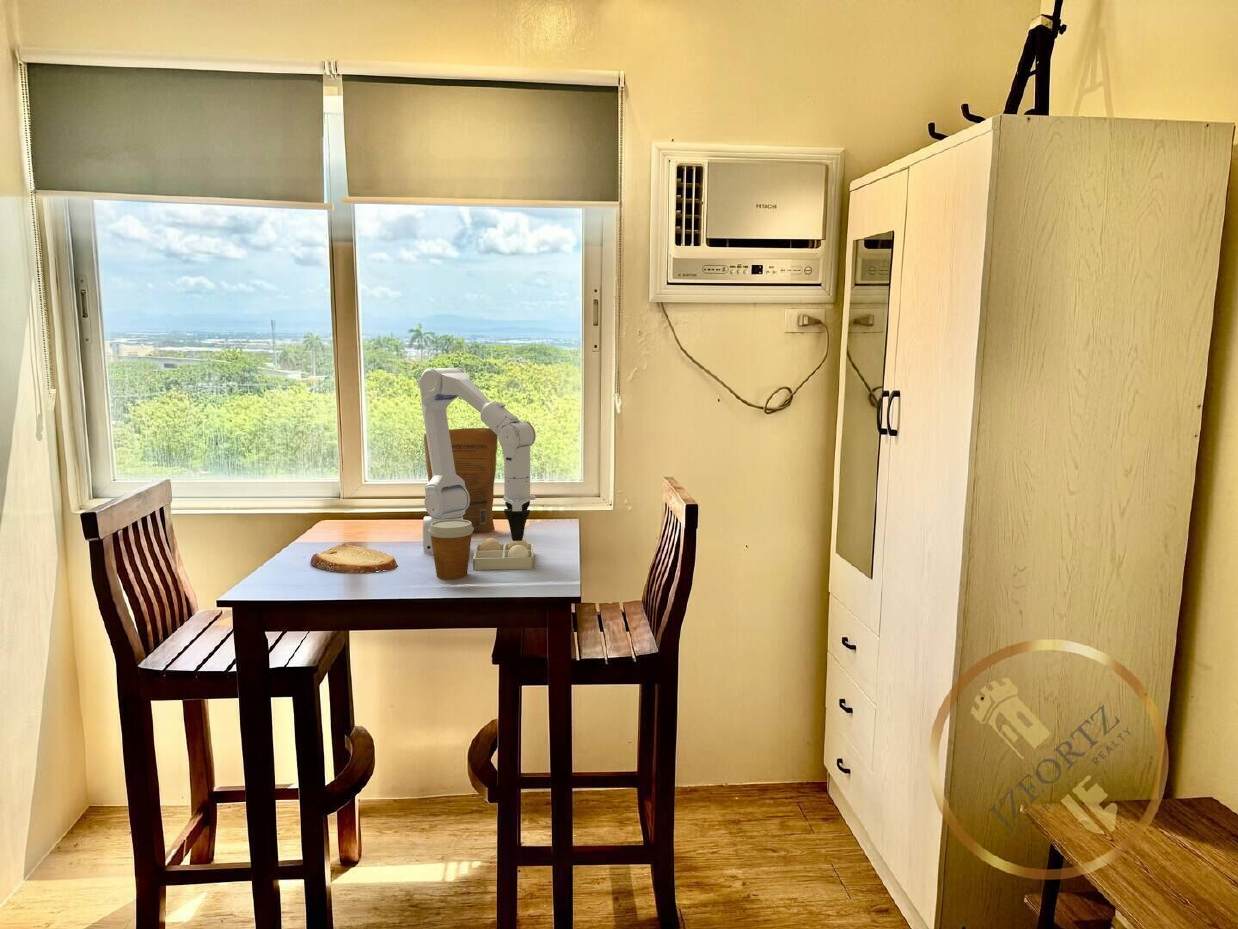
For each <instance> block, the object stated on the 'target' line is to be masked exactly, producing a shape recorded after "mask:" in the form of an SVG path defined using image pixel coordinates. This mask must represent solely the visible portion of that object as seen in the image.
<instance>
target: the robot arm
mask: <svg viewBox="0 0 1238 929" xmlns="http://www.w3.org/2000/svg"><path fill="white" fill-rule="evenodd" d="M418 384H419V392H420V397H421V410H422V416H423V424H424V429H425V430H424V431H425V434H426V437H427V443H428V450H429V456H430V463H431V469H432V476H433V477H432V479H431V480H430V481H427V484H425V486H424V492H425V493H424V494H425V495H424V508H425V511H426V513H427V514H429V515H428V516H424V517H423V522H422V523H423V525H422V547H423V555H433V548H432V542H431V535H430V534H429V532H428V529H429V528H430V524H431V523H432V522H434V521H438V520H446V519H462V520H463V515H464V514H465V510H466V509H467V508H468V507H469V504H470V496H469V493H468V491H467V489H466V487H465V482H464V480H463V479H462V478H460V477H459V476H458V475H457V474H456V472H455V466H454V459H453V453H452V446H451V440H450V433H449V429H450V428H449V422H448V414H447V408H448V406H450V405H451V403H453V402H454V401H455V400H456V399H457V398H461V399H462V400H464V401H465V403H467V404H468V405H469V406H471V407H472V408H474V410H476V411H477V412H478V413H479V414H480V420H481V422H482V423H484V425H486V427H487V428H490V429H491V430H492V431H493V432H494V433H495V434H496V435H498V444H499V445H500V447H501V452H502V453H501V454H502V455H503V456H502V457H503V459H504V460H503V461H504V462H503V463H504V464H503V467H504V468H503V469H504V471H503V472H504V474H503V475H504V478H503V481H504V482H503V483H504V485H503V486H504V488H503V489H504V490H503V492H504V495H503V501H504V502H505V503H504V504H505V506H506V508H504V510H503V513H504V514H505V518H507V522H508V525H509V530H510V536H511V540H513V541H522V539H524V535H525V527H526V523H527V520H528V519H529V518H528V517H529V516H530V513H531V510H530V509H529V506H530V504H531V500H532V501H534V500H536V495H533V494H532V495H531V447H532V446H533V445H534V443H535V441H536V438H537V436H536V434H537V433H536V429H535V428H534V426H533V425H532V424H531V422H530V421H526V420H525V421H524V420H523V421H522V420H521V419H519V417H518V416H517V415H514V414H513V412H512V413H511V412H510V411H509V409H507V408H506V407H505V406H506V405H505V404H504V403H503V401H502V402H501V401H491V400H490V399H489V398H488V397H487V396H486V395H485V394H484V393H483V392H482V391H481V390H480V389H479V388H478V387H477V385H475V383H474V382H473V381H472V380H471V376H470V374H469V373H467V372H466V371H465V370H464V369H463V368H461V367H450V368H449V367H443V368H442V367H441V368H440V367H439V368H436V367H435V368H434V367H428V368H426V369H425V370H423V372H422V374H421V375H420V377H419V379H418ZM447 486H448V487H450V488H446V489H442V488H443V487H447Z"/></svg>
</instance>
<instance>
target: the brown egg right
mask: <svg viewBox="0 0 1238 929" xmlns="http://www.w3.org/2000/svg"><path fill="white" fill-rule="evenodd" d="M527 543H528V542H527V541H526V539H524V538H523V539H522V541H513V540H512V539H511V540H510V542H509V543H508V544H509V546H508V549H509V550H510V549H511V548H512V547H513V546H515V545H522V546H524V547H525V548H526V549H527V550H528V544H527Z"/></svg>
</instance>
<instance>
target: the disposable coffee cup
mask: <svg viewBox="0 0 1238 929" xmlns="http://www.w3.org/2000/svg"><path fill="white" fill-rule="evenodd" d="M473 530H474V528H473V527H472V523H471V522H470V521H468V520H462V519H446V520H438V521H434V522H432V523H431V524H430V528H429V529H428V532H429V534H430V535H431V542H432V548H433V554H432V555H433V560H434V566H435V567H434V568H435V572H436V573H435V574H436V578H437V579H439V580H443V581H444V580H445V581H455V580H461V579H464V578H466V577H467V576H468V572H469V571H468V570H469V564H470V563H469V562H470V554H471V553H470V552H471V544H472V534H473V533H474V532H473Z"/></svg>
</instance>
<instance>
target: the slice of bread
mask: <svg viewBox="0 0 1238 929" xmlns="http://www.w3.org/2000/svg"><path fill="white" fill-rule="evenodd" d="M310 563H311V564H312V566H314V568H316V567H317V568H316V569H320V570H324V571H328V570H331V571H330V572H335V571H340V572H339V573H346V572H353V573H352V574H366V572H373V573H377V572H376V571H383V570H389V571H391V570H392V569H393V570H396V569H398V568H399V565H398V564H397V560H396V559H395V557H394V556H393V555H391V554H388V553H387V552H382V551H380V550H376V549H372V548H366V547H362V546H356V545H351V544H346V543H342V544H341V545H340V544H338V545H335V546H334V547H330V548H329V549H326V550H323V551H322V552H321V553H315V554H313V555H312V556H311V559H310ZM397 567H398V568H397ZM395 568H396V569H395ZM393 570H392V571H393ZM383 572H384V571H383Z"/></svg>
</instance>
